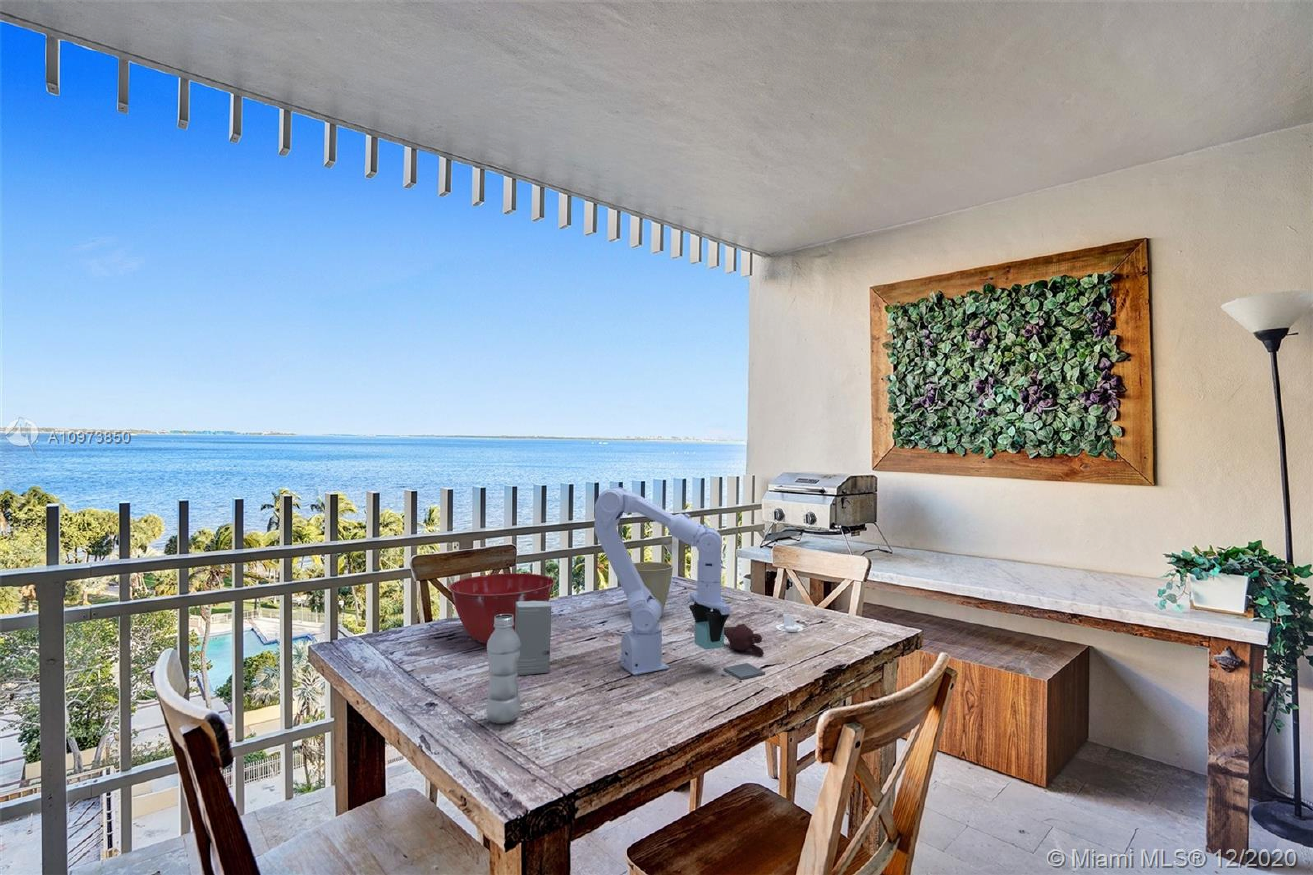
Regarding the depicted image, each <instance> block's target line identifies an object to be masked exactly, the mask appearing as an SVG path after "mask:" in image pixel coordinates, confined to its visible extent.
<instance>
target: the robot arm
mask: <svg viewBox="0 0 1313 875" xmlns="http://www.w3.org/2000/svg"><path fill="white" fill-rule="evenodd" d="M594 510H595V514H594V526H593V527H594V529H593V530H594V534H595V535H596V538H597V539H598V542H599V545H601V546H600V547H601V548H602V550H603V551H604V554H605V556H606V559H607V560H608V562H609V564H610V566H611V568H612V570H613V572H614V574H615V576H616V578H617V580H618V582H619V584H620V587H621V588H622V591H623V592H624V594H625V596H626V599H627V600H626V602H627V609H628V610H629V613H630V621H631V622H630V623H631V625H632V627H631V630H630V631H627V632H625V633H623V634H622V636H621V641H620V642H621V643H620V644H621V645H620V646H621V647H620V648H621V652H620V654H621V656H620V660H621V662H620V663H619V665H620V666H621V667H622V668H624V669H625V670H626V671H627V672H629V673H630V674H631V675H633V676H637V675H641V674H646V673H652V672H658V671H662V670H669V669H670V668H669V667H670V666H669V665H668V664H666V663H664V662H663V650H662V649H663V627H662V625H661V624H660V622H659V620H660V619H661V617H662V616H663V612H662V606H661V604H660V602H659V601H658V600H657V599H655V598H654V597H653V596H652V594H651V592H650V591H649V590H648V589H647V588H646V587H645V585H644V583H643V581H642V579H641V577H640V575H639V573H638V571H637V569H636V567H635V565H634V563H635V562H634V561H633V559H632V557H631V556H630V554H629V551H628V550H627V547H626V546H625V544H624V542H623V540H622V538H621V536H620V533H619V532H618V530H617V528H618V524H619V522H620V520H621V517H622V515H624V514H632V513H633V514H635V513H636V514H637V513H638V514H640V515H642V516H644V517H646V518H648V519H650V520H653V521H654V522H656V523H659V524H660V525H662V526H665V527H666V528H667V530H668V534H669V535H670V536H673V538H675V539H678V540H679V541H682V542H683V543H685V544H687V545H688V546H691V547H696V550H697V551H698V560H697V567H696V568H697V570H696V571H697V572H696V573H697V574H696V575H697V576H696V577H697V582H696V583H697V584H696V586H697V587H696V588H697V589H696V592H690V593H689V601H690V602H693V604H690V605H689V606H688V608H689V610H690V611H691V614H692V616H693V620H694V622H695V623H697V622H705V621H708V623H709V628H710V639H711V642H717V641H720V638H721V634H722V630H723V627H725V625H726V622H727V621H728V618H729V617H730V614H731V605H729V604H727V603H726V600H725V597H723V596H722V560H721V559H722V554H721V549H722V546H723V544H722V543H723V539H722V536H721V534H720V533H719V531H717V530H716V529H715V528H712V527H709V525H708V524H706V523H704V524H702V523H700V522H698V521H696V520H694V519H693V518H691V514H688V513H685V514H683V513H677V514H671V513H670V512H668V511H667V510H665V509H664V508H661V507H660V506H658V505H656V504H655V503H653V502H652V501H650V500H648V499H646V498H645V497H643V496H642V495H639V494H637V493H635V492H633V491H631V490H627V489H625V488H623V487H620V486H615V487H612V488H611V489H609V488H608V489H605V490H603V491H602V492H600V494H599V495H598V498H597V499H596V501H595V504H594ZM695 623H694V624H695Z"/></svg>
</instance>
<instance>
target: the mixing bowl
mask: <svg viewBox="0 0 1313 875" xmlns="http://www.w3.org/2000/svg"><path fill="white" fill-rule="evenodd" d="M555 582H556V580H555V579H554V578H553V577H551V576H548V575H543V574H538V573H537V574H536V573H522V572H521V573H517V572H515V573H514V572H513V573H512V572H511V573H493V574H485V575H477V576H471V577H467V578H464V579H463V578H462V579H460V580H456V581H454V582H453V583H451V584H450V585H449V588H448V589H449V590H450V593H451V597H452V600H453V601H452V602H453V603H454V604H453V605H454V608H455V609H456V614H457V616H458V617H459V620H460V622H461V625H462V626H463V628H464V629H465V631H466V633H467V634H468V635H469V636H470V637H471V638H472V639H473V640H475V641H478V643H480V644H483V645H487V643H488V640H489V638H490V636H491V635H492V633H493V632H494V630H495V627H494V618H495V616H496V615H500V614H512V615H513V622H514V626H513V627H512V628H513V630H514V631H515V617H516V602H519V601H549V602H550V598H551V595H552V591H553V588H554V587H553V586H554V585H555Z"/></svg>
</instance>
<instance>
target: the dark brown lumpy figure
mask: <svg viewBox="0 0 1313 875" xmlns="http://www.w3.org/2000/svg"><path fill="white" fill-rule="evenodd" d="M724 637H726V638H727V640H728V641H727V642H728V643H729V646H730V647H731V649H732V650H733V651H741V652H748V651H749V650H751V651H752V653H754V654H755V655H756V656H759V657H762V656H764V654H765V653H764V652H765V651H764V649H762V648H761V647H760V646H759V645H756V644H760V643H762V641H763V637H762V635H761V634H759V633H754V631H753V630H752V629H751V627H748V626H747V625H746V623H741V624H739V623H738V624H737V625H736V626H724Z"/></svg>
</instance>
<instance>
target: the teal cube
mask: <svg viewBox="0 0 1313 875" xmlns="http://www.w3.org/2000/svg"><path fill="white" fill-rule="evenodd" d="M724 627H725V626H724ZM724 627H723V630H722V634H721V638H720V641H717V642H711V639H710V628H709V623H708V621H705V622H697V623H694V645H696V646H698V647H700V648H702V650H703V649H704V650H705V651H707V650H713V649H714V650H715V649H720V648H724V647H725V635H724Z"/></svg>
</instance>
